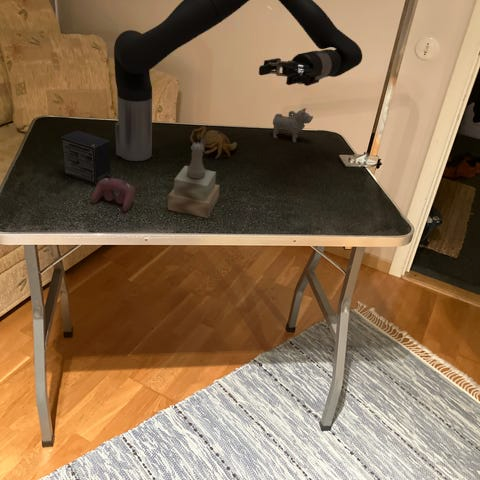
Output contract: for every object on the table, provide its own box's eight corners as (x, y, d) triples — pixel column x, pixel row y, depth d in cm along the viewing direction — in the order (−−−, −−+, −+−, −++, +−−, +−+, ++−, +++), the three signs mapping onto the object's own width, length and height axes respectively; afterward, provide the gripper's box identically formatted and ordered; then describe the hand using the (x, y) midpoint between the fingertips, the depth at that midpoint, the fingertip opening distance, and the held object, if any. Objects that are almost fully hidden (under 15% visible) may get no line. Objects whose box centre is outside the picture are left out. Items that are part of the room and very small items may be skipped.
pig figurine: (307, 144, 163) (313, 113, 157) (269, 137, 165) (274, 106, 159) (309, 139, 167) (315, 108, 161) (272, 131, 169) (277, 101, 163)
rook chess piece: (202, 180, 117) (204, 149, 112) (184, 177, 117) (185, 146, 113) (207, 172, 121) (209, 142, 116) (189, 169, 121) (191, 139, 117)
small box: (112, 176, 131) (110, 139, 125) (96, 186, 126) (94, 147, 120) (80, 165, 134) (77, 128, 128) (63, 174, 129) (59, 136, 123)
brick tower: (167, 209, 120) (168, 180, 115) (181, 191, 128) (182, 163, 124) (207, 218, 119) (210, 188, 114) (218, 199, 127) (221, 171, 122)
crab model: (246, 156, 151) (248, 139, 148) (210, 163, 144) (212, 145, 141) (218, 136, 161) (219, 120, 158) (184, 142, 154) (185, 125, 151)
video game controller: (134, 212, 120) (139, 184, 119) (125, 212, 116) (131, 183, 115) (97, 202, 122) (103, 174, 121) (88, 202, 118) (93, 173, 117)
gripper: (291, 45, 132) (253, 52, 121) (337, 59, 124) (300, 67, 114) (287, 73, 136) (249, 82, 125) (330, 88, 129) (294, 99, 118)
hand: (273, 75), depth 119 cm, fingers open, 8 cm apart
